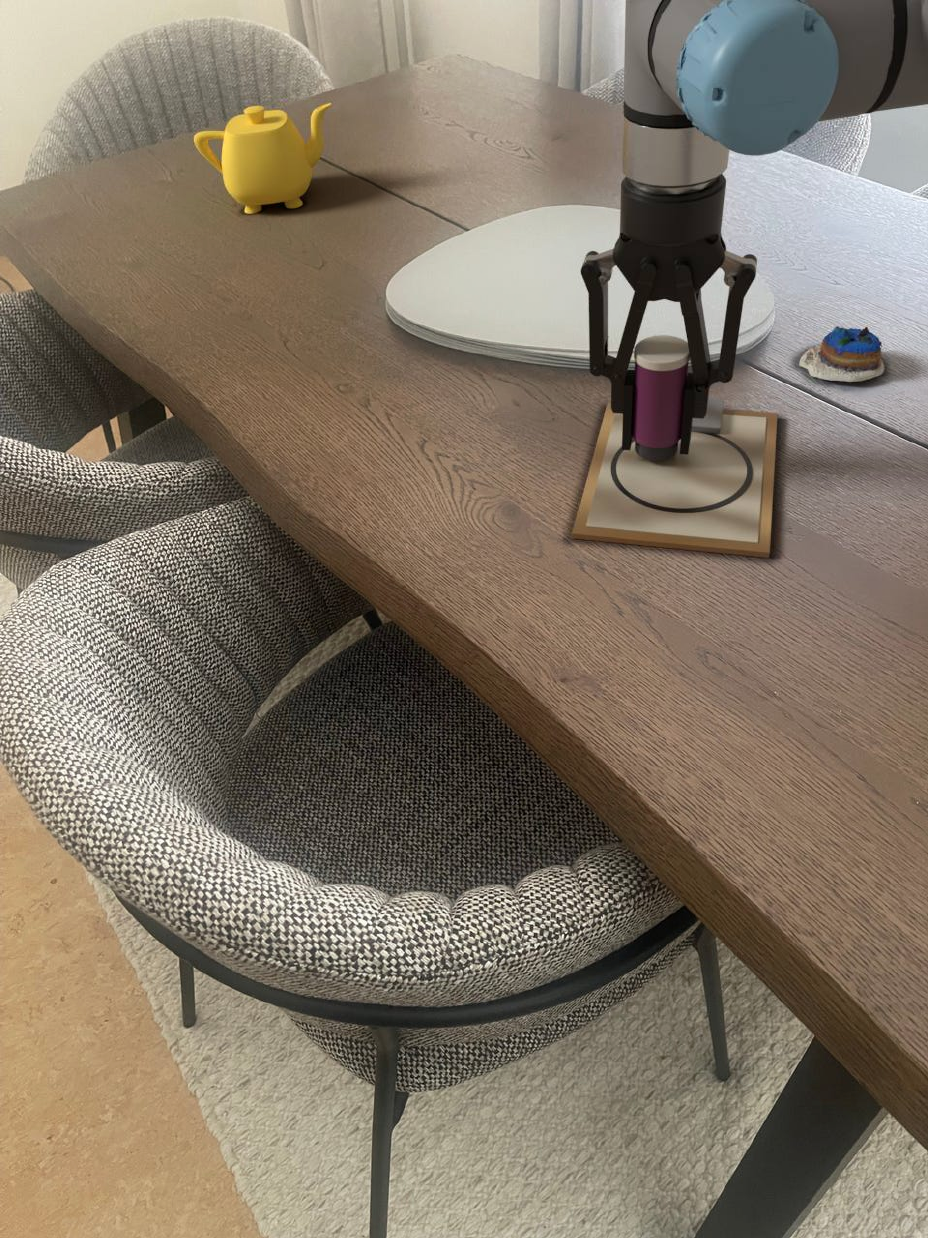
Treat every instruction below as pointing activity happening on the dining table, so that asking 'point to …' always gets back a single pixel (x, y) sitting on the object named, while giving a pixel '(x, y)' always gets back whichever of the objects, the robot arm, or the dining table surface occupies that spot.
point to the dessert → (845, 356)
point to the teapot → (265, 156)
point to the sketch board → (686, 487)
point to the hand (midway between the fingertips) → (656, 442)
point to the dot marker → (659, 395)
